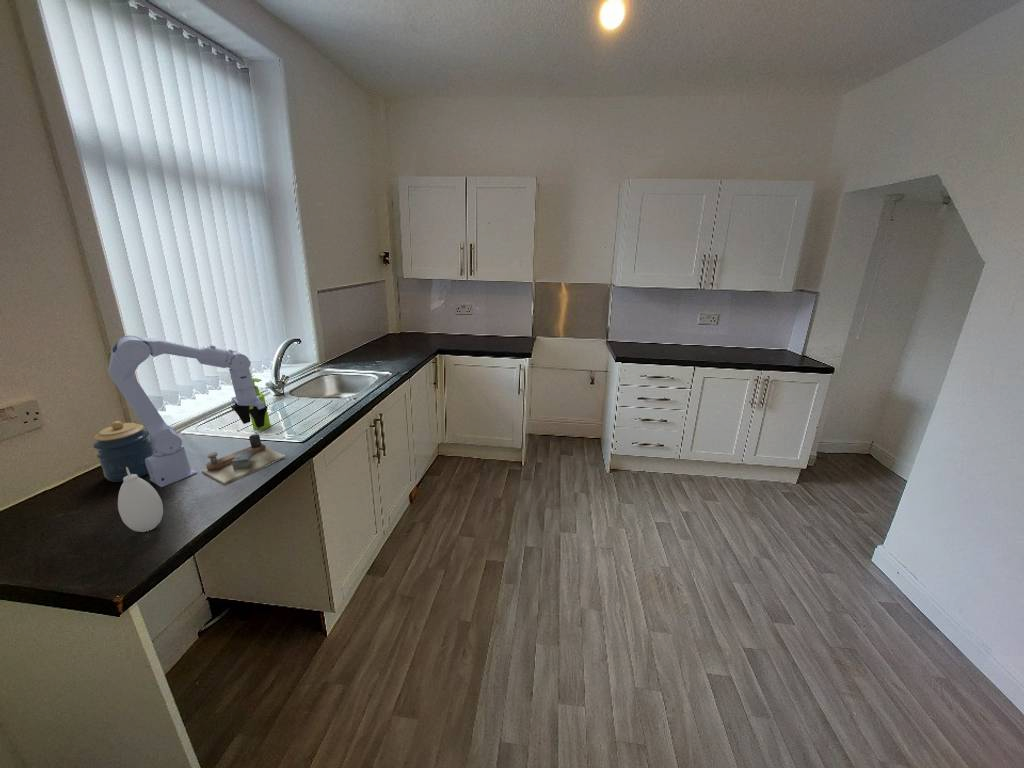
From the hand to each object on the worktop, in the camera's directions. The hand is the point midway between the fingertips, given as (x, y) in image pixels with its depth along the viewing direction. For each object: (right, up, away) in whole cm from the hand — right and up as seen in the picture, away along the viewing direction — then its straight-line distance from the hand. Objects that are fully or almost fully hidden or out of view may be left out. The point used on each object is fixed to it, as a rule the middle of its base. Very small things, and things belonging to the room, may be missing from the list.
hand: (253, 424), depth 139 cm
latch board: (+2, -12, -7) cm, 14 cm away
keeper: (+2, -13, -8) cm, 15 cm away
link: (-2, -11, -5) cm, 12 cm away
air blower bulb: (-3, -23, -37) cm, 44 cm away
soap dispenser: (-10, -3, +21) cm, 24 cm away
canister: (-32, -14, -10) cm, 36 cm away
